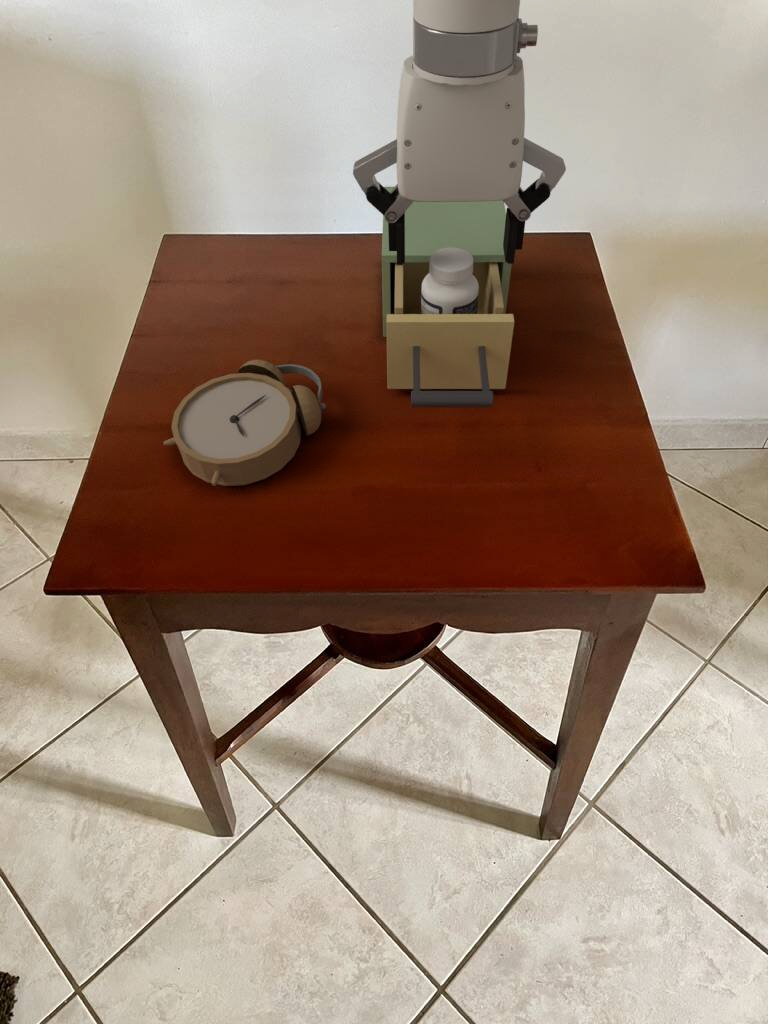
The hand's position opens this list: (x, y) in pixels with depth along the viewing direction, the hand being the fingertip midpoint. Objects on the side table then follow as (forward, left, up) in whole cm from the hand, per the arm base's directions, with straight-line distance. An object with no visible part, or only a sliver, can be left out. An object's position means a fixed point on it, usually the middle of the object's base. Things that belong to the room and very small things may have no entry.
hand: (454, 256), depth 70 cm
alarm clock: (+18, +10, -12) cm, 24 cm away
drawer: (0, +2, -11) cm, 12 cm away
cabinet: (0, -11, -12) cm, 17 cm away
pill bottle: (0, 0, -10) cm, 10 cm away
